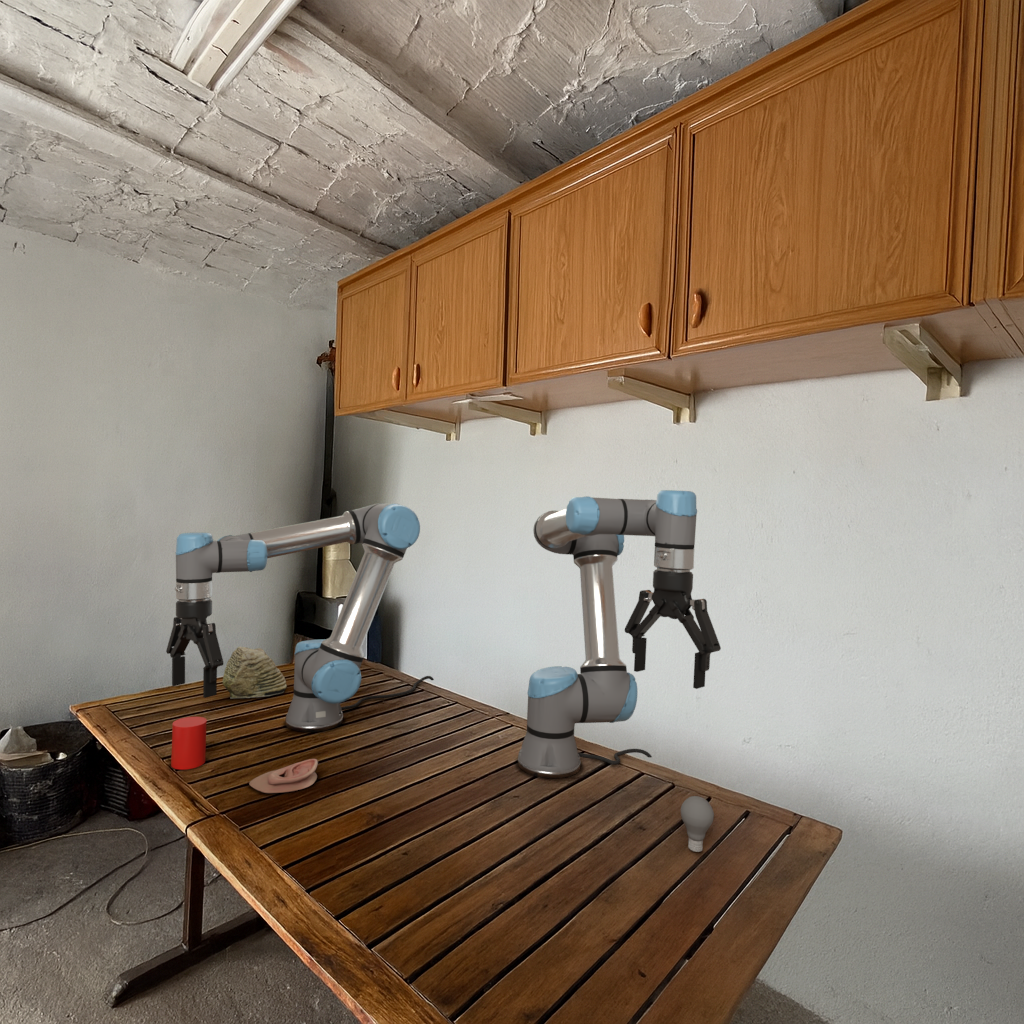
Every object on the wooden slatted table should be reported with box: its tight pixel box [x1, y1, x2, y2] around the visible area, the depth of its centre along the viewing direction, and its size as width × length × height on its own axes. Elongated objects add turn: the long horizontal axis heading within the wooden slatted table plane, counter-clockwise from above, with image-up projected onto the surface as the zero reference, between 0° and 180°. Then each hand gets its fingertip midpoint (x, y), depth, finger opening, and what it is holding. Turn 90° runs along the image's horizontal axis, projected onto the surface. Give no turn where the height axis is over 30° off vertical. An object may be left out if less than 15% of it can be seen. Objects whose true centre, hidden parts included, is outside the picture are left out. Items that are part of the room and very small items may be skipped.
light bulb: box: [680, 795, 715, 853], centre depth 119 cm, size 6×6×10 cm
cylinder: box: [170, 716, 208, 771], centre depth 147 cm, size 7×7×10 cm
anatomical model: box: [248, 758, 319, 794], centre depth 139 cm, size 13×4×12 cm
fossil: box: [222, 646, 288, 699], centre depth 198 cm, size 9×18×15 cm, turn 132°
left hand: (193, 690), depth 147 cm, fingers open, 13 cm apart
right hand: (668, 678), depth 123 cm, fingers open, 13 cm apart
